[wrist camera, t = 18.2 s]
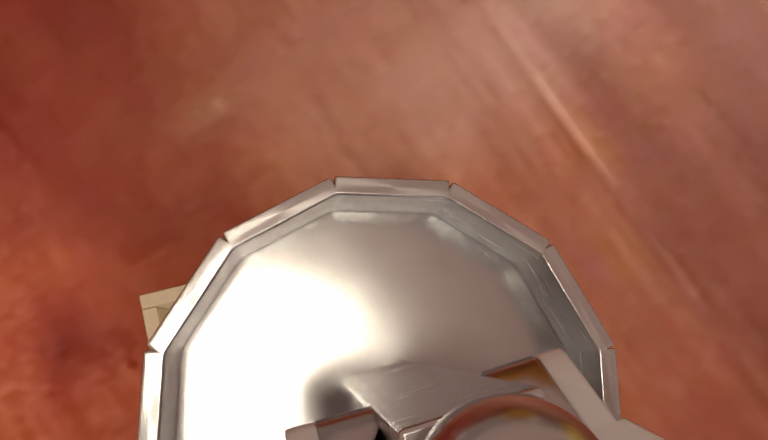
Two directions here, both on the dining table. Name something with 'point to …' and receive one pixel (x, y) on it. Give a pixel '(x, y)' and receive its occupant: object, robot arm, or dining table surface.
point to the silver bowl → (372, 322)
